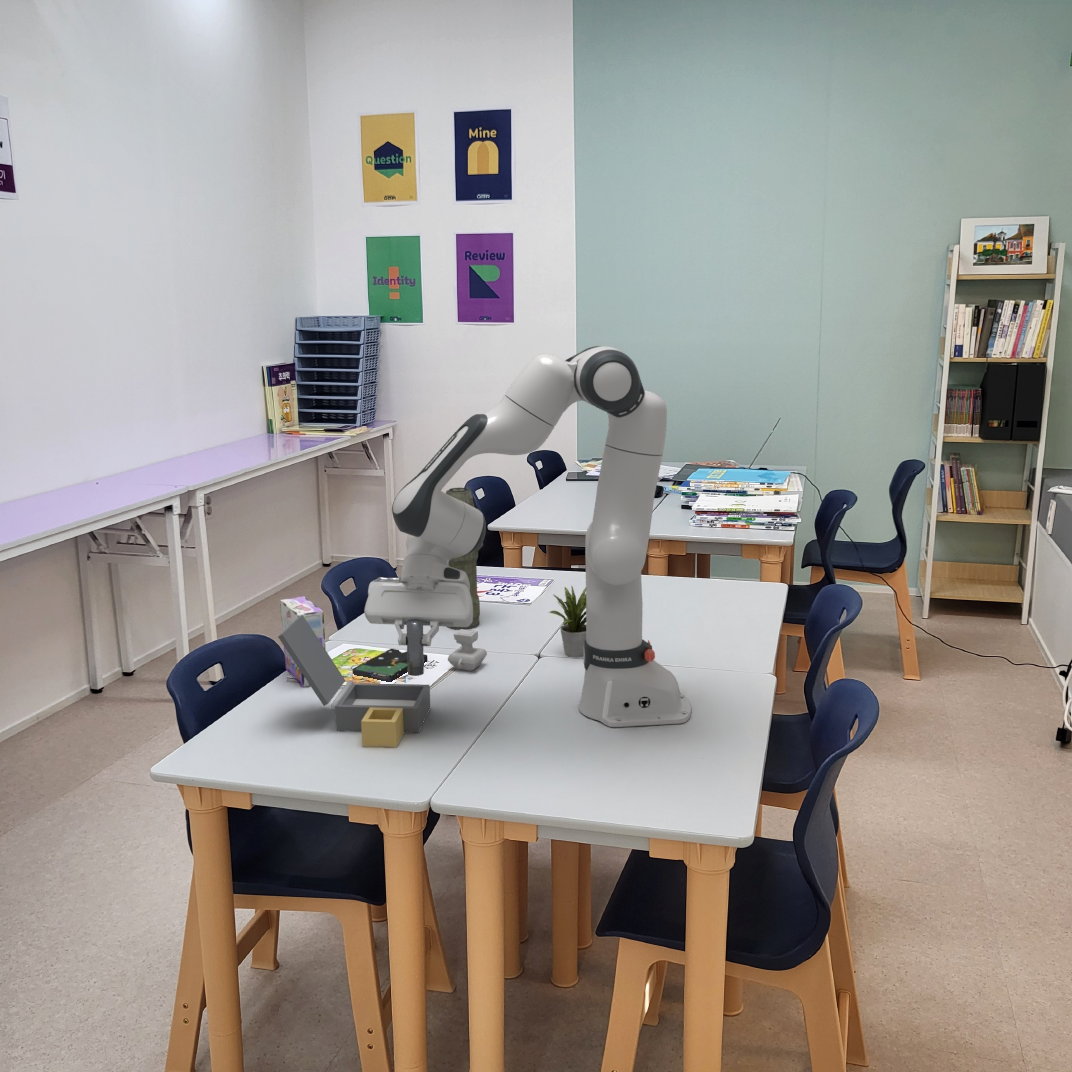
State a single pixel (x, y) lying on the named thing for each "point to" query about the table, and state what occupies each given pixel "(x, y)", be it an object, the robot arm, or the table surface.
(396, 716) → the frame
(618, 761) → the table surface
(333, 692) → the case lid
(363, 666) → the disk drive
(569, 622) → the house plant
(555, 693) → the table surface
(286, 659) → the candy box
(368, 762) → the table surface
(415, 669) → the rod
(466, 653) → the stamp
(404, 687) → the case
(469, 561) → the thermos
